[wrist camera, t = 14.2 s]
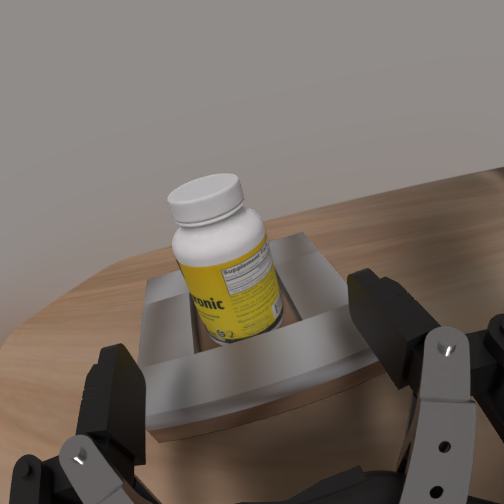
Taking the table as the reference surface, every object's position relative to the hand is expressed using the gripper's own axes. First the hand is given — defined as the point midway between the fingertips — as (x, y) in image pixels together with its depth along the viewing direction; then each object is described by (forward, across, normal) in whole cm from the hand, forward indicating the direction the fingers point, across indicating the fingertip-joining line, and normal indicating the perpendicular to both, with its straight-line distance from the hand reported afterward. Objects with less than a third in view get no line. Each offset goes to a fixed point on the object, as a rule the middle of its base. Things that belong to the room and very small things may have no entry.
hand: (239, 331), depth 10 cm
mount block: (+9, 0, +9) cm, 12 cm away
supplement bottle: (+9, 0, +7) cm, 11 cm away
